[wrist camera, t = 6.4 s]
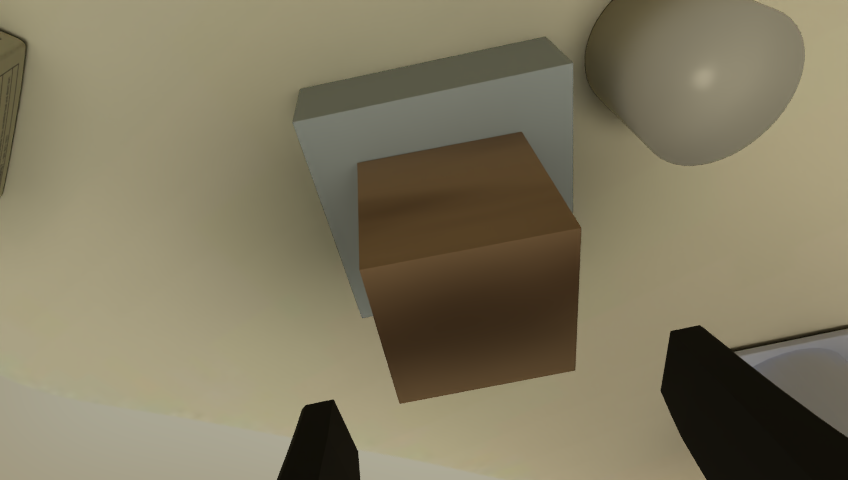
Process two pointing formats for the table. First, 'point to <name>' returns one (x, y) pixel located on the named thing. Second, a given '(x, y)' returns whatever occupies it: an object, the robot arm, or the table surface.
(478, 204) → the walnut cube
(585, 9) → the table surface
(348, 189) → the slate plinth
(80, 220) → the table surface
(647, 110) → the grey rounded lump
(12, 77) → the skincare box
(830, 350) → the robot arm
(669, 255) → the table surface
